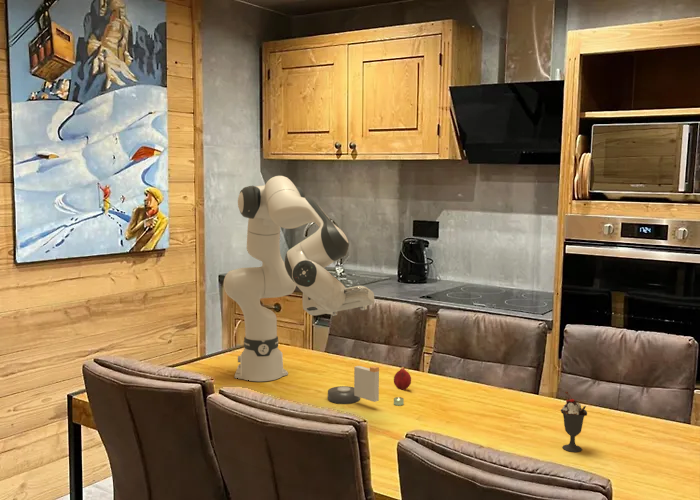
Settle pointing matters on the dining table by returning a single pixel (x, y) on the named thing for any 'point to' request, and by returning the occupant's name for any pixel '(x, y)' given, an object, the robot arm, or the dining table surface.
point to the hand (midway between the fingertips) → (350, 310)
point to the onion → (402, 379)
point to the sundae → (573, 422)
